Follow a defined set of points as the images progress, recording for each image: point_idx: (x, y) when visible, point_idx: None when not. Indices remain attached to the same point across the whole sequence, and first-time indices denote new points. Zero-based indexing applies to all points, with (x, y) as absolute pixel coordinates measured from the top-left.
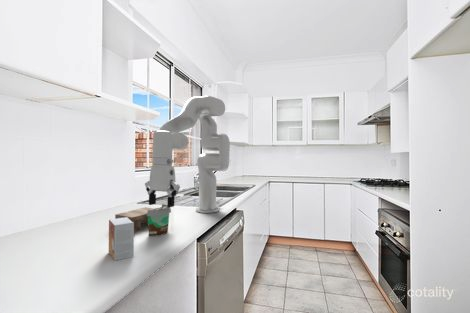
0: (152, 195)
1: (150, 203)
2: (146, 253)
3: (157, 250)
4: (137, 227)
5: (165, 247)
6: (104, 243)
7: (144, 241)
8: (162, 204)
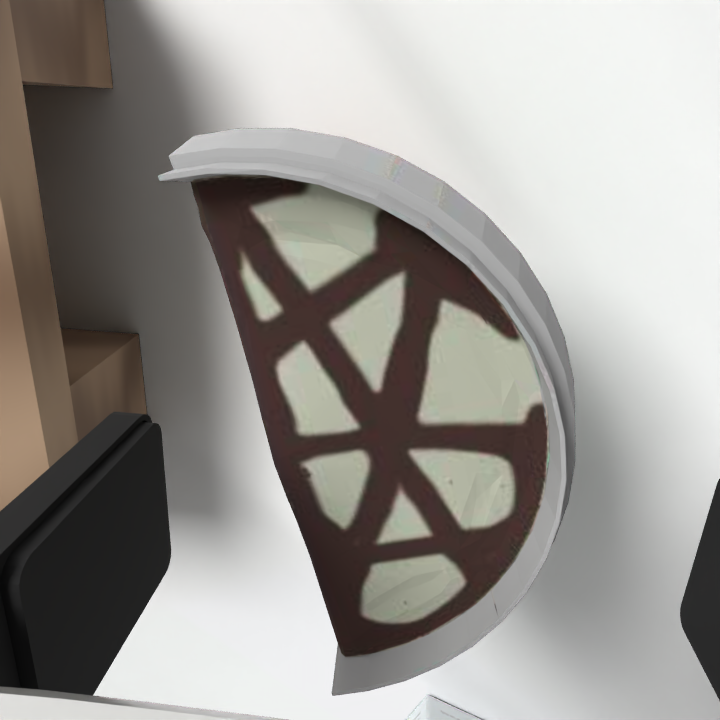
0: (51, 689)
1: (161, 579)
2: (631, 712)
3: (681, 657)
4: (125, 386)
5: None
6: (196, 671)
7: None
8: (173, 180)
